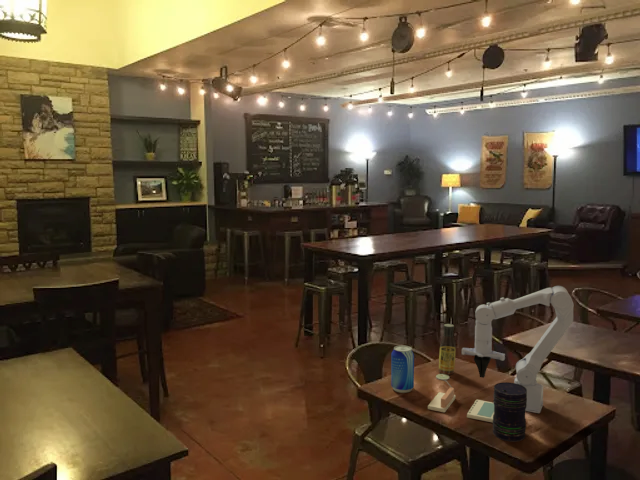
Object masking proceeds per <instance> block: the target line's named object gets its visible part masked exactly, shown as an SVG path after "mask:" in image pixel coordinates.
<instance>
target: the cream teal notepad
mask: <svg viewBox="0 0 640 480" xmlns="http://www.w3.org/2000/svg"><path fill="white" fill-rule="evenodd" d="M493 415H494V402H492V401H486V400H482V399H476V400H475V401H474V403H473V404H472V406H471V407H470V409H469V410H468V412H467V413H466V418H469V419H473V420H479V421H483V422H488V423H492V424H493Z"/></svg>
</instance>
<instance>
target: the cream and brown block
mask: <svg viewBox="0 0 640 480" xmlns="http://www.w3.org/2000/svg"><path fill="white" fill-rule="evenodd" d="M451 387H452V386H451ZM451 387H450V386H449V387H448V389H447V390H446V392H440V391H438V393H437V395H435V396H434V397H433V398H432V400H431V401H430V403H429V404H428V405H427V410H431V411H436V412H441V413H446V412H447V410H448V409H449V408H450V406H451V405H452V404H453V402H454V401H455V399H456V394H455V387H452V388H451Z"/></svg>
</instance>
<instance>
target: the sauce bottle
mask: <svg viewBox="0 0 640 480" xmlns="http://www.w3.org/2000/svg"><path fill="white" fill-rule="evenodd" d="M454 330H455V325H454V324H451V323H445V324H443V335H442V337H441V339H440V340H439V341H440V342H439V343H440V344H439V345H440V346H439V357H438V361H439V362H438V373H439V374H446V375H448V376H449V375H453V374H454V372H455V368H456V367H455V366H456V365H455V363H456V349H457V348H456V347H457V344H456V343H457V342H456V338H455V337H454Z"/></svg>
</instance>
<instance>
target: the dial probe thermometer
mask: <svg viewBox="0 0 640 480" xmlns="http://www.w3.org/2000/svg"><path fill="white" fill-rule="evenodd" d="M450 377H451V376H449V374H448V375H446V374H442V373H438V374H436V376H435V378H436V379H437V380H439V381H445V382H446V384H447V385H448V386H449V388H450V387H451V388H453V387H452V386H451V384H450V383H449V382H448V380H450Z"/></svg>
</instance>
